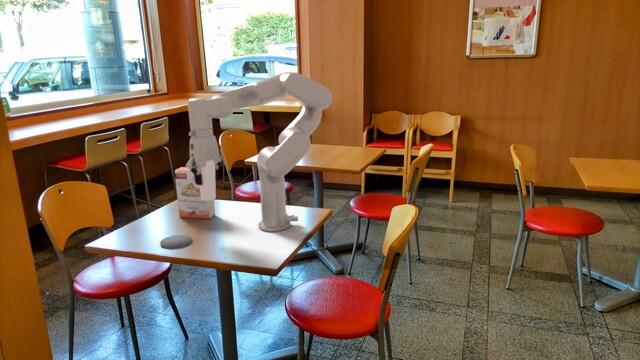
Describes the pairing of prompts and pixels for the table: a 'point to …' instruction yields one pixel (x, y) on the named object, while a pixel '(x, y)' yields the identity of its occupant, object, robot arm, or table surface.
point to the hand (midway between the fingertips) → (206, 181)
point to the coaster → (175, 241)
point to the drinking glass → (208, 181)
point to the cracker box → (191, 196)
